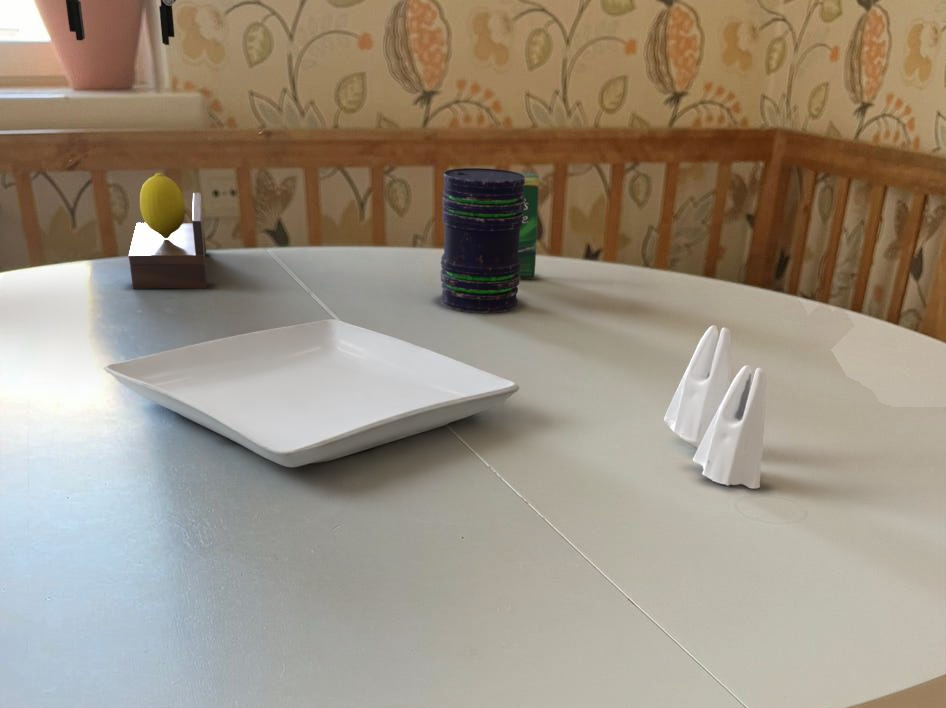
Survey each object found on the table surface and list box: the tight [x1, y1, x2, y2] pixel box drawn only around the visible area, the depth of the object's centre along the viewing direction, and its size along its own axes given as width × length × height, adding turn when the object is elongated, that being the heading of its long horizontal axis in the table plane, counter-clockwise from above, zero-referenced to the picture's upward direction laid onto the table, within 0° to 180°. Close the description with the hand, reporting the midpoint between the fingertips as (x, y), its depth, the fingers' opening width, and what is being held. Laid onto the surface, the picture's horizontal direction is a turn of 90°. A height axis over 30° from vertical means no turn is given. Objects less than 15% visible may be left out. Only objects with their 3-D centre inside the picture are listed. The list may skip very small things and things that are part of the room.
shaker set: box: [663, 324, 767, 490], centre depth 87 cm, size 12×4×11 cm, turn 14°
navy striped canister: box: [440, 167, 525, 314], centre depth 128 cm, size 10×10×15 cm
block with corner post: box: [128, 192, 208, 290], centre depth 138 cm, size 20×9×8 cm, turn 13°
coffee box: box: [518, 173, 540, 280], centre depth 141 cm, size 8×3×13 cm, turn 95°
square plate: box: [102, 318, 520, 468], centre depth 95 cm, size 27×27×4 cm
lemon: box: [139, 172, 186, 239], centre depth 135 cm, size 6×6×8 cm
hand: (123, 42), depth 123 cm, fingers open, 9 cm apart
